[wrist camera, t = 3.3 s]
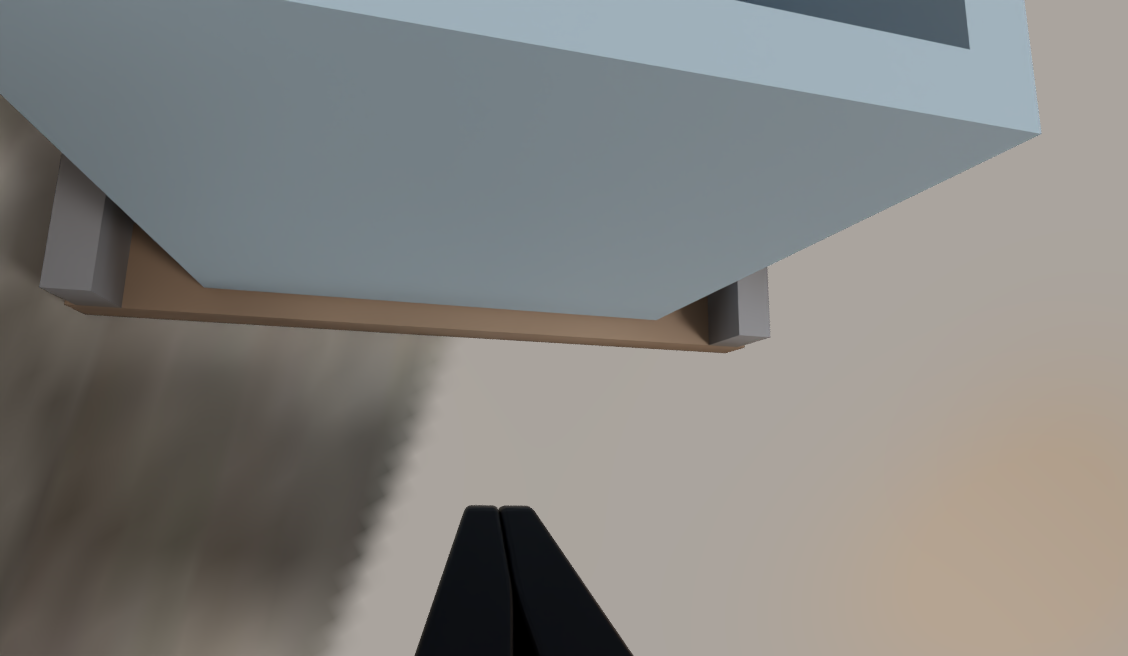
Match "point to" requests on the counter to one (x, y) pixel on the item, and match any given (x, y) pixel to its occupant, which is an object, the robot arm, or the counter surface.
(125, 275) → the brown wooden tray
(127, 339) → the counter surface
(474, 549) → the robot arm
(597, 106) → the box
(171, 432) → the counter surface
